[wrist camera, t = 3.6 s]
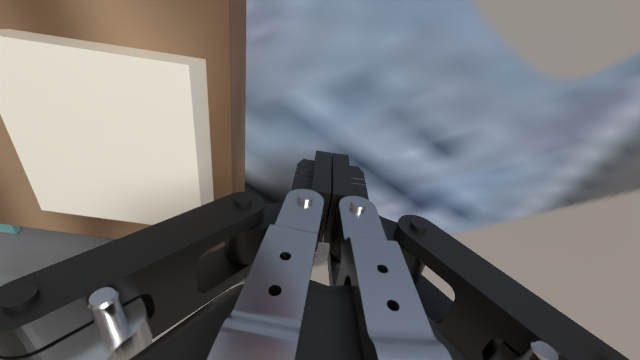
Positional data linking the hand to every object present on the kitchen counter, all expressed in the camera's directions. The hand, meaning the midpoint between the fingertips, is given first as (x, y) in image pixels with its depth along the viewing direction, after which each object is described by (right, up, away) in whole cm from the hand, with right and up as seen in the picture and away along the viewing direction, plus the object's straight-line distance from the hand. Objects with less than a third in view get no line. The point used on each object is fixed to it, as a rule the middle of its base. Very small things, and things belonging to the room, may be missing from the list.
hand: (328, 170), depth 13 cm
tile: (-10, +1, 0) cm, 10 cm away
